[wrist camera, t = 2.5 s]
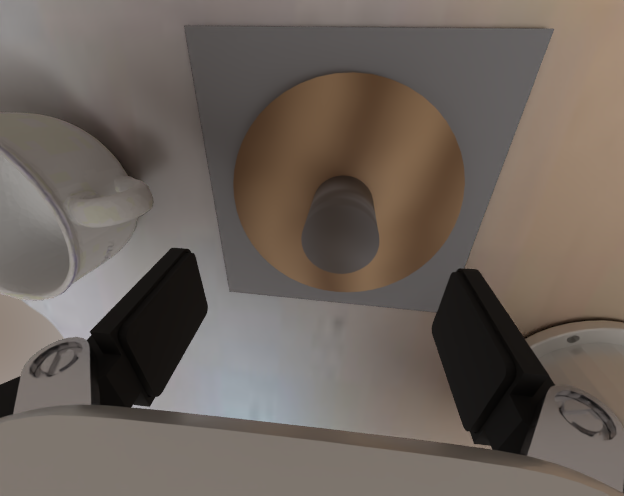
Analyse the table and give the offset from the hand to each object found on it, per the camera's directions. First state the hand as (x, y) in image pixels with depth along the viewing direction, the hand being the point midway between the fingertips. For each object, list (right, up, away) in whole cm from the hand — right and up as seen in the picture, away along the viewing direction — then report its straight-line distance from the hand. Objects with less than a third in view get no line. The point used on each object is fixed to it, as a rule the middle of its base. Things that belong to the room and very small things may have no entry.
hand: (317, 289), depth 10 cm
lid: (+2, +5, +9) cm, 10 cm away
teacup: (-16, +7, +11) cm, 21 cm away
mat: (+2, +5, +9) cm, 11 cm away
